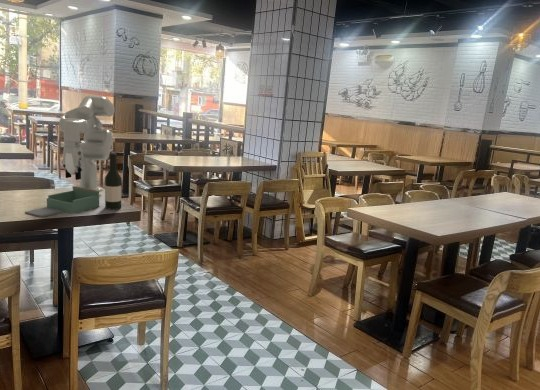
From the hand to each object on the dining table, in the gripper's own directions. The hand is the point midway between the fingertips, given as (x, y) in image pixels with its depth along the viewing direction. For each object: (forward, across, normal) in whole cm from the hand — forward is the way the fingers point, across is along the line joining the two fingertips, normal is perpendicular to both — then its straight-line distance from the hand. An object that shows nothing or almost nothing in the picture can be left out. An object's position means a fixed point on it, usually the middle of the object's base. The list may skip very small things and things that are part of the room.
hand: (73, 178), depth 230 cm
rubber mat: (+15, +2, +17) cm, 23 cm away
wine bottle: (+16, -16, -11) cm, 25 cm away
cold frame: (+16, 0, +1) cm, 16 cm away
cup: (+7, 0, 0) cm, 7 cm away
